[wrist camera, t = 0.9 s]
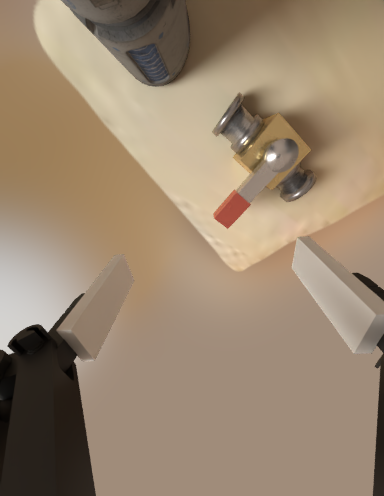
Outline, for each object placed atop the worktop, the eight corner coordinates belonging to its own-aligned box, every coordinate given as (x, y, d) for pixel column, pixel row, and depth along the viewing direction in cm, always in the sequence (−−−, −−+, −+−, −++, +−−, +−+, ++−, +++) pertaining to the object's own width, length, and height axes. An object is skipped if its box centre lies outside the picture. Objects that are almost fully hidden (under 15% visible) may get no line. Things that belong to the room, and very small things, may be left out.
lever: (279, 131, 23) (285, 130, 22) (297, 152, 25) (305, 153, 23) (210, 211, 29) (211, 216, 28) (228, 225, 30) (230, 230, 29)
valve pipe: (209, 135, 31) (211, 133, 24) (237, 94, 28) (250, 77, 21) (276, 198, 36) (295, 211, 29) (307, 169, 33) (335, 175, 26)
